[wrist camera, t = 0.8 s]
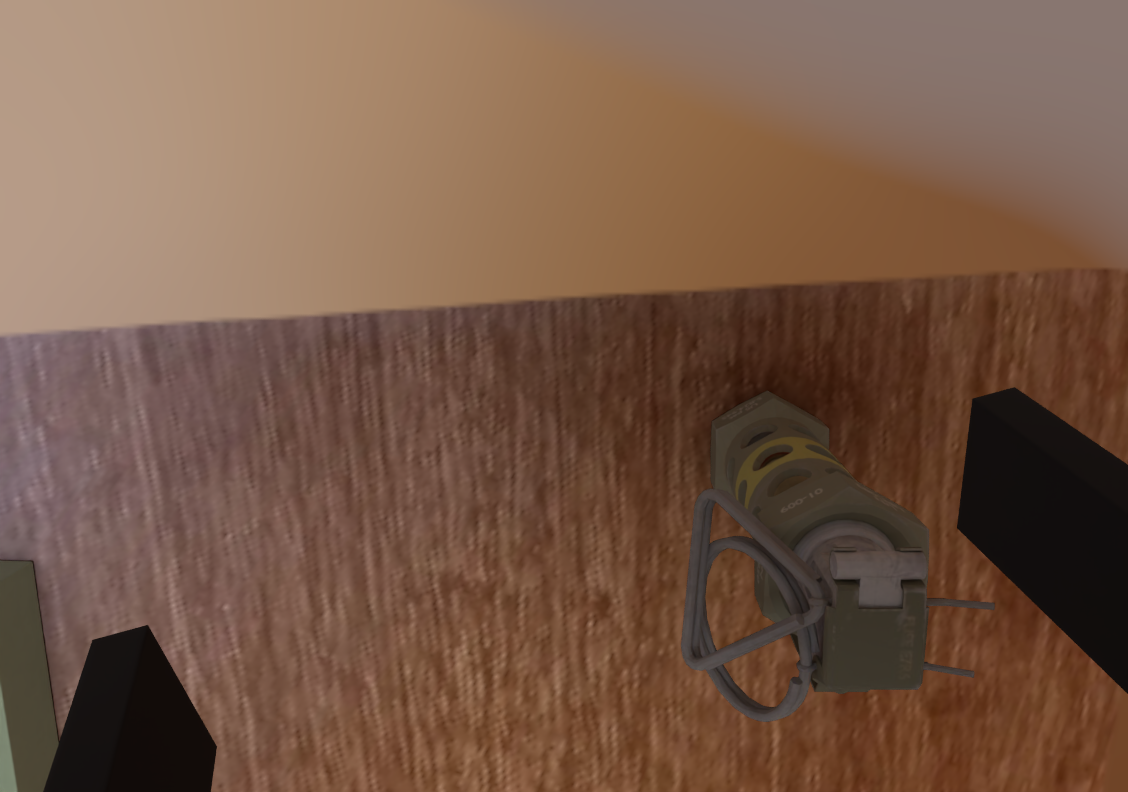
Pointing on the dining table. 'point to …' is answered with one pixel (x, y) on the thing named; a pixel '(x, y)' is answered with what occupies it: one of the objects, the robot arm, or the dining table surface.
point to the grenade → (811, 562)
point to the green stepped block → (23, 685)
